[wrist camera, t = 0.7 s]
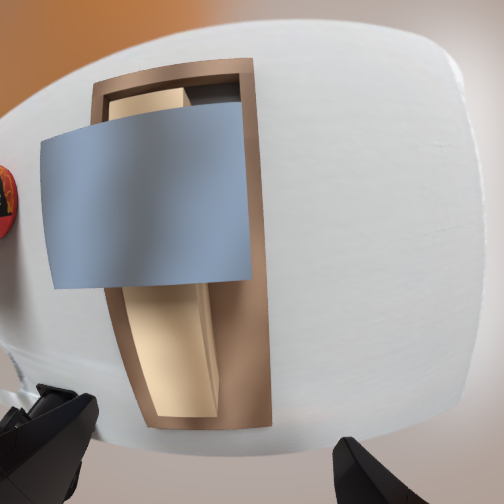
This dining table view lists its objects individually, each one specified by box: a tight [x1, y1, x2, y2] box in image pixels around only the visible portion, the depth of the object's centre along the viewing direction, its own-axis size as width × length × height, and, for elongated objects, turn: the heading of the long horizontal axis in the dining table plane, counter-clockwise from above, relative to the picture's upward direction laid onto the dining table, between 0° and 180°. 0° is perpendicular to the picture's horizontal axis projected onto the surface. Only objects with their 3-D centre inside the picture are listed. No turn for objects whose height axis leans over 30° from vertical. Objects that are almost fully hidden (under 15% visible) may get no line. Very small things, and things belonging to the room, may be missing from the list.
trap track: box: [40, 58, 272, 430], centre depth 16 cm, size 12×30×10 cm, turn 3°
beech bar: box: [109, 88, 220, 417], centre depth 16 cm, size 4×19×5 cm, turn 4°
